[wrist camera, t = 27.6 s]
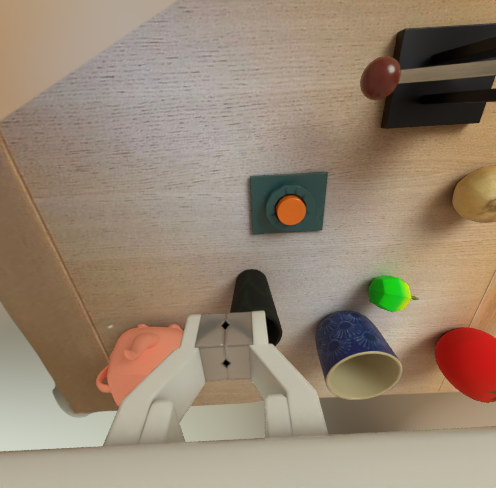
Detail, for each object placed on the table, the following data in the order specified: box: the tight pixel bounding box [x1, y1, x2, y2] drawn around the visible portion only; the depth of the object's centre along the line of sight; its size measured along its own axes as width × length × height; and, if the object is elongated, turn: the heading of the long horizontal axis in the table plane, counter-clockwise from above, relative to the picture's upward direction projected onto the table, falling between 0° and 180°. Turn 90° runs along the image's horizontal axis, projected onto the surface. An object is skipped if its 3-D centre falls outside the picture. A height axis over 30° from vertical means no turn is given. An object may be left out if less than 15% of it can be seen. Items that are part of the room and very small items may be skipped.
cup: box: [230, 269, 282, 346], centre depth 40 cm, size 8×8×12 cm
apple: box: [368, 276, 419, 312], centre depth 43 cm, size 7×6×9 cm
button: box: [276, 195, 306, 225], centre depth 36 cm, size 4×4×2 cm
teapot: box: [96, 324, 184, 406], centre depth 46 cm, size 15×17×13 cm
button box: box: [250, 172, 328, 234], centre depth 37 cm, size 11×9×2 cm
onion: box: [452, 165, 496, 223], centre depth 35 cm, size 8×8×7 cm
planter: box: [315, 311, 402, 400], centre depth 46 cm, size 12×12×11 cm
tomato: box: [435, 328, 496, 403], centre depth 47 cm, size 12×12×13 cm
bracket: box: [381, 23, 496, 128], centre depth 25 cm, size 12×10×15 cm
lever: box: [360, 56, 496, 100], centre depth 22 cm, size 15×4×4 cm, turn 93°
